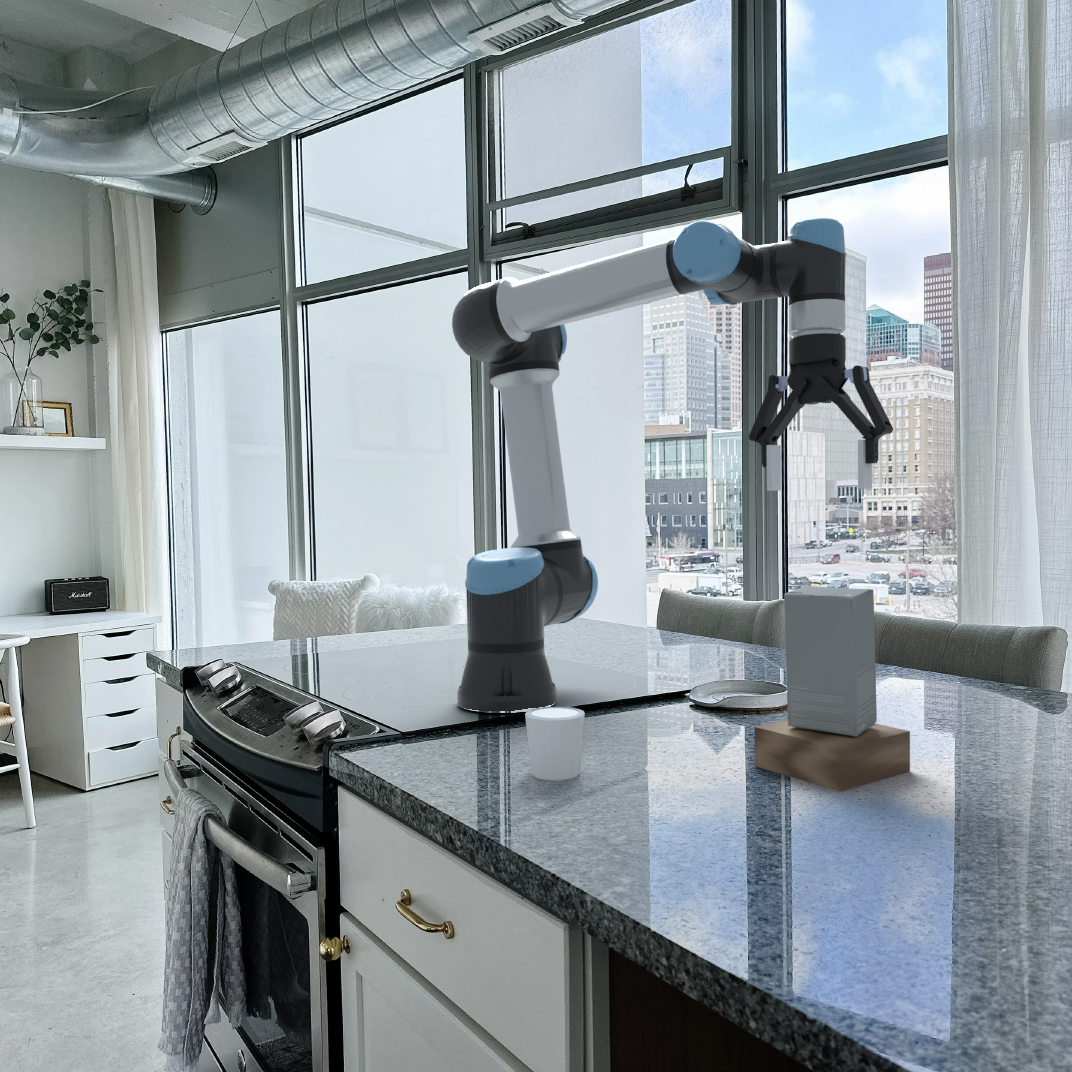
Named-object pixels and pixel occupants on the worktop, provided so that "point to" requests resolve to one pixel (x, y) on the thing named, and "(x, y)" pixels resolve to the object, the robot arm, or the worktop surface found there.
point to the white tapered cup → (555, 742)
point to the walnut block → (832, 754)
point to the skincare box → (830, 659)
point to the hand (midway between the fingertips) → (817, 490)
